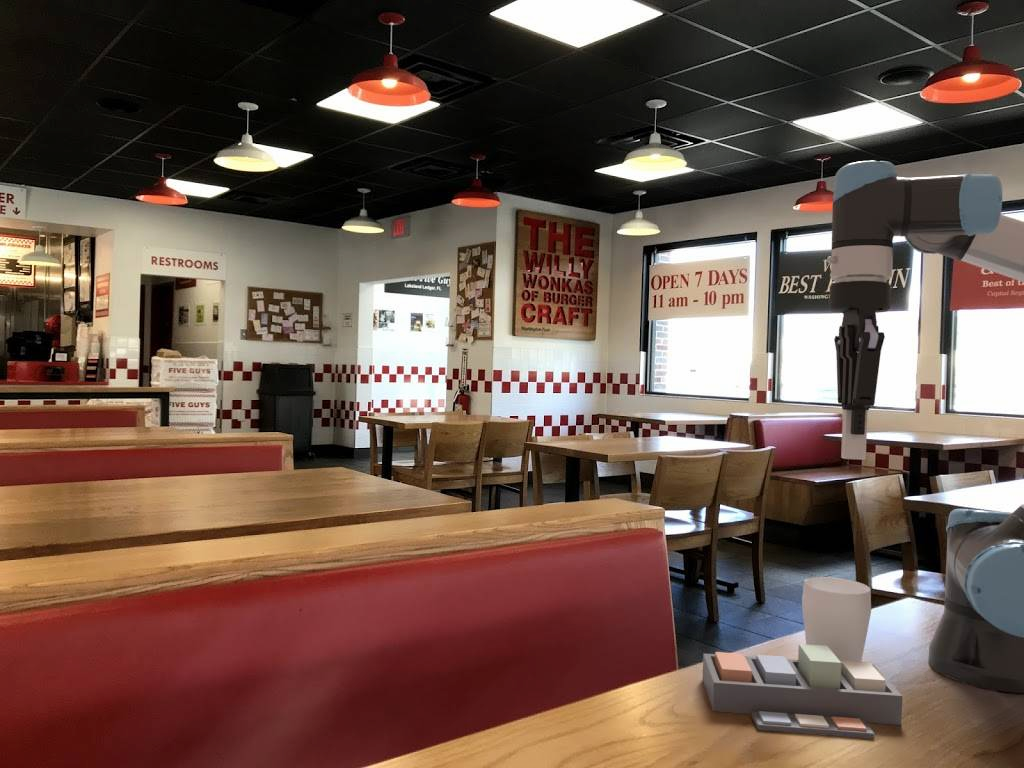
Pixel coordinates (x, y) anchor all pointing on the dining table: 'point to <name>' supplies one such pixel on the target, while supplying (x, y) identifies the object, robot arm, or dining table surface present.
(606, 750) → the dining table surface
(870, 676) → the key ivory
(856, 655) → the cup
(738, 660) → the key terracotta
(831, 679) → the key sage
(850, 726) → the strip
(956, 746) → the dining table surface
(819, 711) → the keypad
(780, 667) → the key slate
